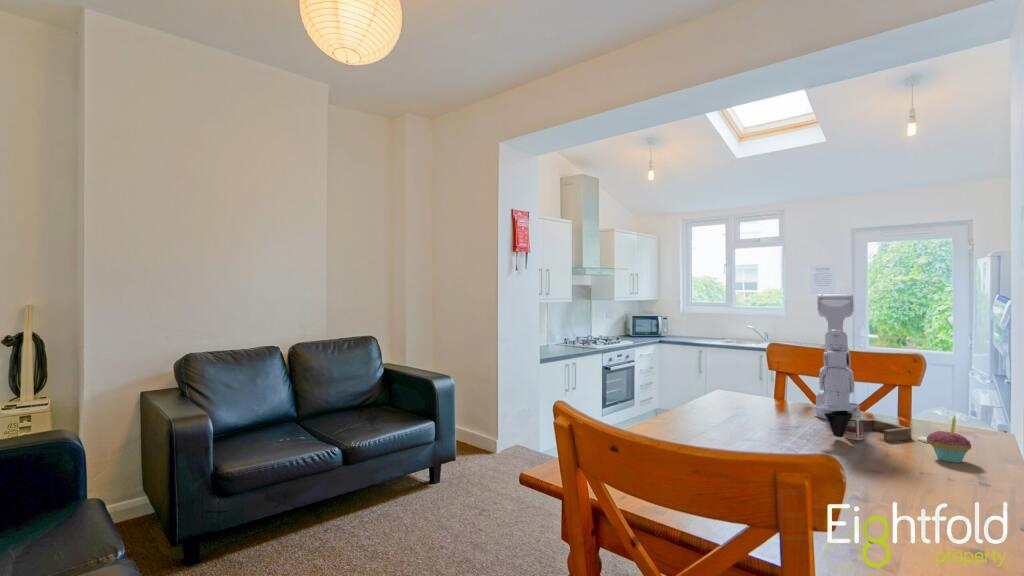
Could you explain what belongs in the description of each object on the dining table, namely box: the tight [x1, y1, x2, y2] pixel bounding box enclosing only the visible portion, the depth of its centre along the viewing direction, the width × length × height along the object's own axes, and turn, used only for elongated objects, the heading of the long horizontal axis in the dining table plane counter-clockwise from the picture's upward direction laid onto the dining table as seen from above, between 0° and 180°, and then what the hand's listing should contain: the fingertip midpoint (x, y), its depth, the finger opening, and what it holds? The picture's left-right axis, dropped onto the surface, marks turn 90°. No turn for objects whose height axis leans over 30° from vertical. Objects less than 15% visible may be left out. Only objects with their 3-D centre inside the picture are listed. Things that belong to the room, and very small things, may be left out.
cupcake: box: [926, 415, 972, 464], centre depth 123 cm, size 9×8×12 cm
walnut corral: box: [863, 418, 912, 443], centre depth 144 cm, size 11×9×3 cm
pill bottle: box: [843, 409, 864, 441], centre depth 141 cm, size 5×5×8 cm
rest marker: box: [916, 436, 929, 444], centre depth 138 cm, size 6×6×1 cm
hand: (838, 436), depth 140 cm, fingers closed
